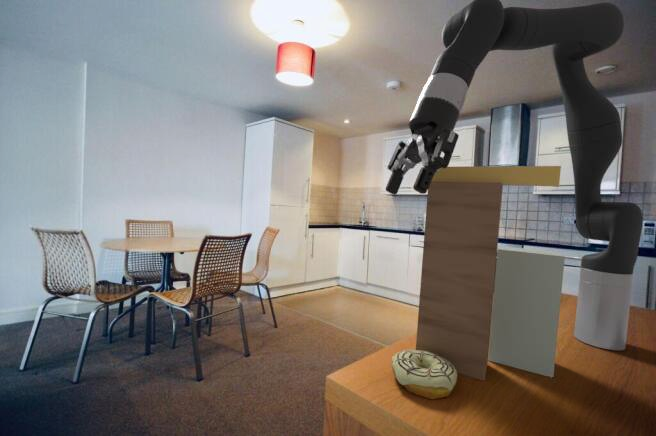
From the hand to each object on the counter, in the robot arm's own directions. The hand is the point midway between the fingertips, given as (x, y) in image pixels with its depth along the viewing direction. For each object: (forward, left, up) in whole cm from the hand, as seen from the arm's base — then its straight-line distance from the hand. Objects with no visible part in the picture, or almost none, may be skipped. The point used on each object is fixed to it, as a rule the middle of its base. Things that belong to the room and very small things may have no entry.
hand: (403, 192), depth 54 cm
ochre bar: (-11, +12, +3) cm, 16 cm away
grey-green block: (-20, +20, -31) cm, 42 cm away
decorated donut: (-1, +5, -32) cm, 32 cm away
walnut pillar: (-11, +8, -31) cm, 34 cm away
